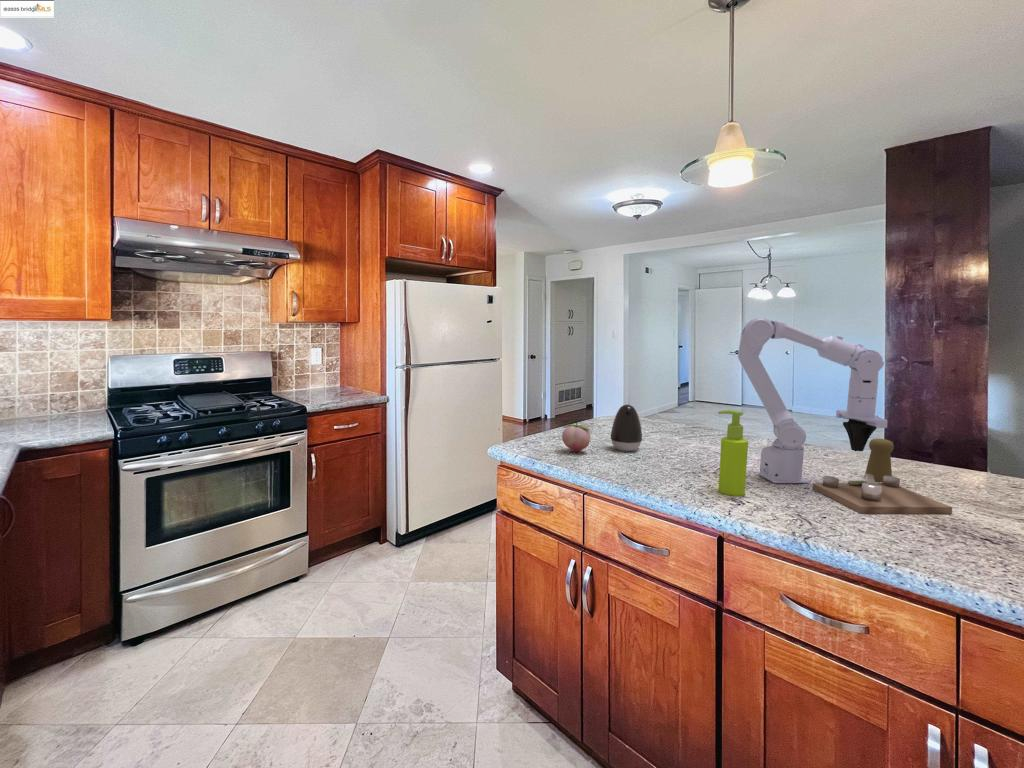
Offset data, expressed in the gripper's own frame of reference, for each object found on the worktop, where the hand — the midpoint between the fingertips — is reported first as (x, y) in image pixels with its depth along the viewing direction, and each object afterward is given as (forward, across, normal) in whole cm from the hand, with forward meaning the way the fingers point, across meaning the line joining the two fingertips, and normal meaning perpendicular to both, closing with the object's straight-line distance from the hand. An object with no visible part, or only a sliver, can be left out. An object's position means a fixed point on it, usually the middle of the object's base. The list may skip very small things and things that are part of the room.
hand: (857, 450), depth 118 cm
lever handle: (+8, -9, +3) cm, 13 cm away
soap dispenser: (+10, -4, +34) cm, 36 cm away
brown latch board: (+9, -10, +2) cm, 14 cm away
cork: (+10, +6, -11) cm, 16 cm away
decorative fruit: (+10, +34, +66) cm, 75 cm away
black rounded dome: (+10, +37, +49) cm, 62 cm away
